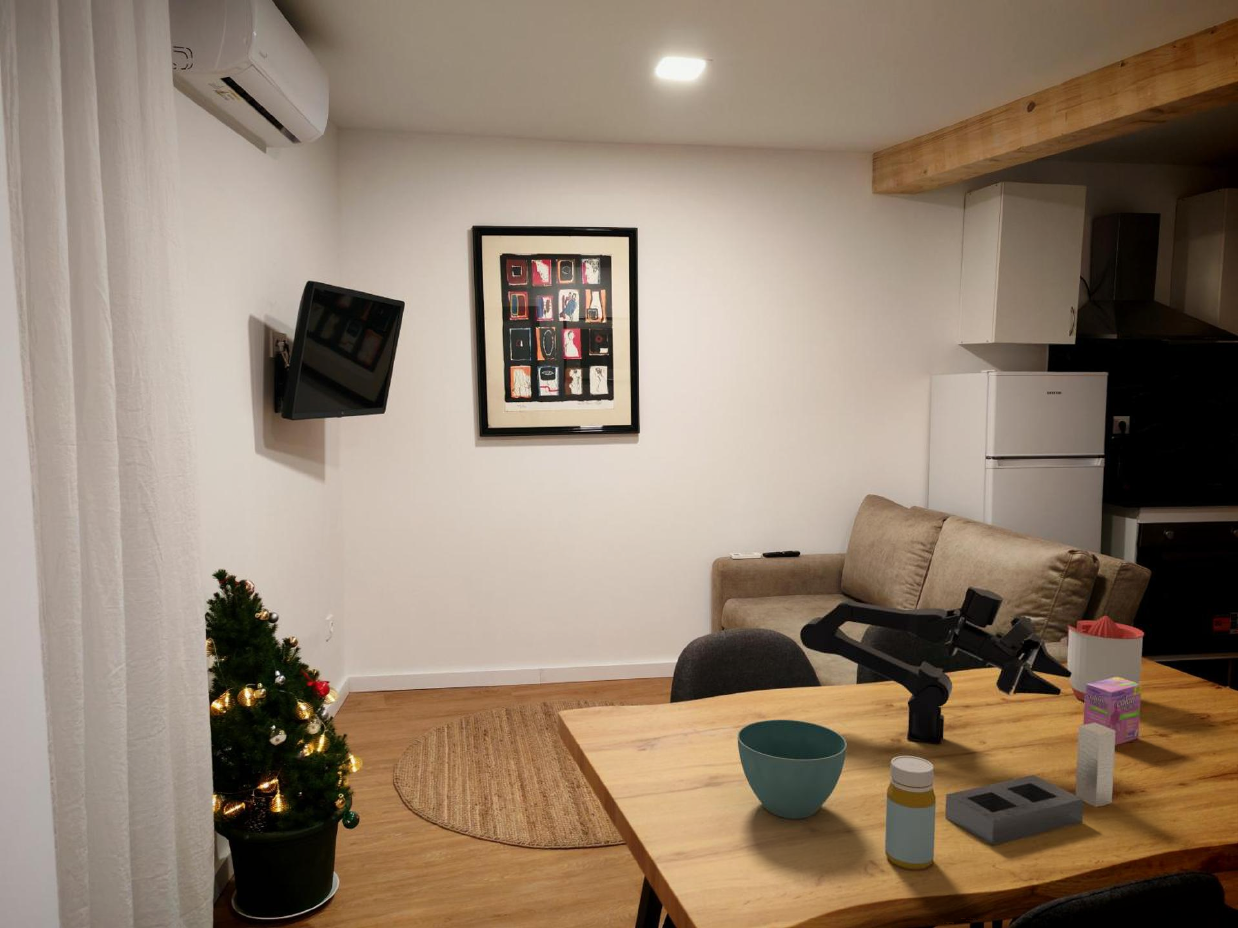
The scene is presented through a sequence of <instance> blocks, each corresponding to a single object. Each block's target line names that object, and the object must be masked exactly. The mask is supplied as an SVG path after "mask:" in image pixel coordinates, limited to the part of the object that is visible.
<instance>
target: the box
mask: <svg viewBox="0 0 1238 928" xmlns="http://www.w3.org/2000/svg"><path fill="white" fill-rule="evenodd" d="M1142 687H1143V686H1142V684H1140V682H1139V683H1136V682H1133V681H1129V680H1126V679H1123V678H1119V677H1113V678H1109V679H1105V680H1101V681H1097V682H1093V683H1089V684H1086V687H1085V701H1084V702H1083V703H1084V707H1083V709H1084V710H1083V720H1082V721H1083V724H1082V725H1086V724H1091V723H1097V724H1100V725H1102V726H1105V727H1107V728H1110V729H1113V730H1115V746H1117V745H1121V744H1124V743H1127V742H1131V741H1135V740H1138V739H1139V730H1140V729H1139V726H1140V714H1141V713H1140V712H1141V697H1142Z"/></svg>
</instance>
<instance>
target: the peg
mask: <svg viewBox="0 0 1238 928" xmlns="http://www.w3.org/2000/svg"><path fill="white" fill-rule="evenodd" d="M1115 746H1116V745H1115V730H1113V729H1110V728H1107V727H1105V726H1102V725H1100V724H1097V723H1091V724H1086V725H1083V724H1081V725H1078V739H1077V757H1076V774H1075V775H1076V776H1075V779H1076V780H1075V793H1074V795H1076V796H1078V797H1080V798H1082V799H1083V803H1086V804H1088V805H1090V806H1092V807H1094V808H1098V806H1099V807H1102V806H1105V805H1109V804H1113V803H1112V801H1113V786H1114V770H1115V769H1114V768H1115V749H1116V748H1115Z"/></svg>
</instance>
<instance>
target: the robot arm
mask: <svg viewBox="0 0 1238 928" xmlns="http://www.w3.org/2000/svg"><path fill="white" fill-rule="evenodd" d="M1003 601H1004V598H1003V596H1001V595H999V594H997V593H995V592H993V591H990V590H988V589H983V588H977V587H976V588H975V587H973V586H968V587H967V590H966V592H965V597H964V600H963V602H962V604H961V607H959V608H954V609H949V610H945V609H943V608H937V607H936V608H918V609H917V608H916V609H903V608H902V609H901V608H896V607H888V606H884V605H883V606H882V605H874V604H870V603H863V602H856V601H852V600H850V599H844V600H842V601H841V602H839V604H838V605H836V606H835V608H833V609H832V610H831V611H829V612H828V613H827V614H825V615H824V616H818V617H814V618H812V619H811V620H809V622H807V623H806V624H805V625H804V626H803V627H802V628H801V630H800V632H799V638H800V641H801V643H802V646H804V647H805V648H806V649H808V650H812V651H814V652H818V653H821V654H827V655H834V656H840V657H842V658H845V659H846V660H848V661H849V662H850V661H851V662H853V663H854V664H857V665H858V666H861V667H863V668H865V669H867V670H870V671H871V672H874V673H876V674H878V675H880V676H883V678H886V679H889V680H890V681H893V682H895V683H897V684H898V685H901V686H903V688H905V689H906V691H908V692H909V693H910V694H911V696H910V697H909V698H908V699H909V700H908V701H907V707H908V723H907V724H908V725H907V735H906V739H907V740H908V741H915V742H922V743H927V744H928V743H929V744H935V745H940V744H941V743H942V742H941V740H942V739H944V734H945V733H944V729H945V715H943V714H942V707H943V706H944V705H945V704H947V702H948V701H949V698H950V695H951V693H952V691H953V683H952V680H951V678H950V677H949V675H948V674H946V673H945V672H943V671H944V668H940V667H939V668H938V667H935V666H933V665H931V664H930V663H928V662H926V661H922V663H921V665H920V666H917V665H912V664H911V665H910V664H909V663H906V662H904V661H902V660H899V659H897V658H895V657H893V656H891V655H889V654H887V653H885V652H883V651H881V650H878V649H876V648H873V647H872V646H869V645H867V644H865V643H862V642H860V641H858V640H856V639H854V638H852V637H850V636H848V635H847V634H846V633H845V632H844V631H842V629H841V628H840V627H841V626H843V625H845V624H846V623H847V622H850V623H856V624H857V623H858V624H863V625H869V626H874V627H875V626H876V627H881V628H888V629H892V630H898V631H903V632H906V633H909V634H911V635H912V636H914V637H918V638H920V639H922V640H925V641H927V642H931V643H932V642H933V643H941V642H943V641H945V640H946V639H947V638H948V636H949V635H950V633H951V631H953V629H954V631H953V633H952V635H951V638H950V640H949V641H947V642H945V643H944V645H943V647H945V650H946V652H947V655H948V657H951V658H952V657H953V656H955V655H956V654H957V652H958V650H959V651H961V652H963V653H965V654H968V655H969V656H972V657H973V658H976V659H978V660H980V661H981V666H984V667H987V666H988V665H990V666H992V667H995V668H997V669H999V670H1000V672H999V676H998V678H997V680H996V682H995V684H996V687H997V689H998V691H1000V692H1002V693H1003V694H1006V695H1007V696H1010V694H1011V693H1012V694H1013V695H1016V694H1032V695H1033V694H1034V695H1038V694H1039V695H1050V696H1052V695H1053V696H1059V695H1060V694H1061V692H1062V689H1061V688H1059V687H1058V686H1057V685H1055V684H1053V683H1052V682H1050V681H1048V680H1047V679H1045V678H1043V677H1042V676H1039V675H1038V674H1037V673H1040V674H1045V675H1052V676H1057V677H1062V678H1067V679H1069V678H1070V677H1071V674H1072V673H1071V672H1070V671H1069V670H1068V667H1065V666H1064V665H1063V664H1062V663H1060V661H1059V660H1057V659H1055V658H1054V657H1053V656H1052V655H1051V654H1050V653H1049V652H1048V649H1047V647H1046V643H1045V641H1044V640H1043V637H1042V636H1040V635H1037V634H1035V633H1034V631H1035V630H1036V629H1037V627H1036V626H1035V625H1034V624H1033V623H1032V619H1031V617H1026V616H1025V615H1023V616H1021V615H1018V614H1016V615H1015V616H1014V617H1013V618H1012V620H1011V621H1010V624H1011V628H1010V629H1008V631H1007V632H1006V633H1003V632H1001V631H998V632H996V633H995V634H993V633H991V632H989V631H987V630H985V629H986V628H987V626H993V625H994V623H995V621H996V618H997V616H998V613H999V611H1000V608H1001V606H1002V605H1003ZM962 619H963V621H962V623H961V626H960V628H957V627H958V626H959V624H960V622H961V620H962ZM955 628H956V629H955ZM1035 672H1036V673H1035Z"/></svg>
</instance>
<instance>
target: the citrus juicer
mask: <svg viewBox="0 0 1238 928" xmlns="http://www.w3.org/2000/svg"><path fill="white" fill-rule="evenodd" d="M1144 637H1145V632H1143V630H1141V629H1139V628H1136V627H1134V626H1130V625H1126V624H1123V623H1117V622H1115V621H1113V620H1112V619H1111V618H1110V617H1109V616H1108V615H1103V616H1101V617H1100V618H1099V619H1097V620H1091V619H1090V620H1089V619H1088V620H1087V619H1086V620H1077V622H1076V628H1075V627H1073V626H1072V625H1069V624H1068V625H1067V636H1066V637H1063V638H1061V639H1060V642H1059V644H1066V647H1067V669H1068V670H1069V671H1070V672H1071V673H1072V674H1071V677H1070V678H1068V679H1069V682H1070V686H1071V689H1072V692H1073V694H1074V696H1075V697H1076V698H1077V699H1078V700H1080V701H1083V702H1085V687H1086V684H1089V683H1093V682H1097V681H1101V680H1105V679H1109V678H1113V677H1119V678H1123V679H1126V680H1129V681H1133V682H1136V683H1139V684H1140V679H1141V673H1142V672H1141V671H1142V657H1143V655H1142V653H1143V641H1144V640H1143V638H1144Z"/></svg>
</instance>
